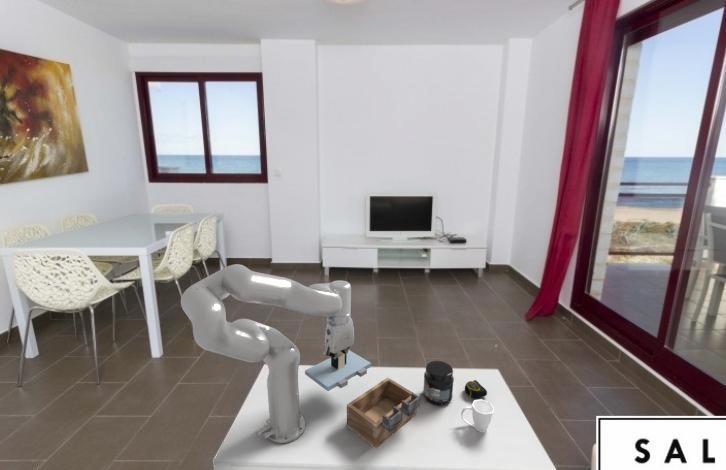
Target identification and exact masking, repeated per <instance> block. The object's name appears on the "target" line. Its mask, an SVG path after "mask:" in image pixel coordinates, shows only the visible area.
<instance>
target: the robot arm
mask: <svg viewBox="0 0 726 470" xmlns="http://www.w3.org/2000/svg"><path fill="white" fill-rule="evenodd" d="M229 296H231V297H232V298H233V299H236V301H237V300H238V301H240V302H242V303H249V304H250V303H252V304H256V305H257V304H259V305H267V306H274V307H280V308H284V309H287V310H290V311H294V312H297V313H302V314H307V315H311V316H315V317H324V318H326V327H325V332H324V333H325V334H324V350H323V352H322V354H323V355H324V356H326V357H330V358H331V366H333V367H334V368H336V369H338V365H339V359H338V358H337V355H338V352H339V351H341V352H342V353H344V354H345V365H346V358H347V353H348V350H350V348H351V347H352V346H353V345H354V344H355V329H354V322H353V321H354V320H353V318H352V317H351V315H352V314H351V308H352V307H351V306H352V305H351V304H352V286H351V283H350V282H348V281H346V280H333V281H331V282H327V283H326V282H325V283H313V284H311V285H309V286H306V285H304V284H302V283H300V282H298V281H295V280H294V279H291V278H287V277H284V276H278V275H273V274H268V273H262V272H257V271H254V270H252V269H249V268H248V267H247V266H245V265H243V264H239V263H236V264H231V265H228V266H226V267H223V268H222V269H219V270H218V271H216V272H214V273H212V274H210V275H208V276H207V277H205V278H203V279H201V280H199V281H198V282H195V283H193V284H192V285H190V286H189V287H188V288H187V289H185V291H184V292H183V293H182V295H181V298H180V307H181V308H182V310H183V312H184V313H185V315H186V316H187V317H188V318H189V320H190V322H191V325H192V333H193V334H192V335H193V338H194V341H195V343H196V344H197V346H198V347H200V348H202V349H203V350H205V351H208V352H211V353H216V354H219V355H223V356H226V357H229V358H232V359H236V360H240V361H244V362H247V363H257V362H261V361H263V363H265V364H266V366H267V368H268V375H267V378H266V387H267V388H266V389H267V399H268V400H267V401H268V403H267V405H268V414H269V415H268V416H269V417H268V418H267V419H266V423H265V424H264V426H263V427H261V428H259V429H257V430H256V431H255V435H256V438H259V437H261V436H263V438H264V440H267V439H268V440H269V441H271V442H272V443H276V444H287V443H291V442H293V441H295V440H297V439H299V438H300V437H301V436H302V434H303V433H304V431H305V427H306V420H305V418H304V417H303V415H301V414H300V413H301V412H300V411H301V410H300V388H299V386H300V385H299V367H300V363H301V354H300V351H299V348H298V347H297V345H295V344H294V342H293V341H292V340H290V339H289V338H288V337H287V336H285V335H284V334H283V333H282V332H281V331H279V330H278V329H277V328H274V327H271V326H269V325H266V324H264V323H260V322H258V321H255V320H252V319H250V318H239V319H235V320H234V321H232V322H230V321H227V313H226V312H227V310H226V306H225V305H224V302H223V300H224V299H226V298H227V297H229ZM333 353H334V354H333Z"/></svg>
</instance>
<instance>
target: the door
mask: <svg viewBox="0 0 726 470" xmlns="http://www.w3.org/2000/svg"><path fill="white" fill-rule="evenodd" d="M333 354H334V353H333ZM337 358H338V359H339V365H338V369H336V368H334V367H333V366H331V357H329V358H327V359H325V360H323V361H322V362H319V363H317V364H315V365H312V366H311V367H309V368H307V369H305V370H304V375H306V376H307V377H308V378H310V380H312V381H313V382H315V383H316V384H317V385H319V386H320V387H321V388H323V389H324V390H325V391H326V392H329V391H331V390H333V389H335V388H336V387H338V388H339V389H343V388H344V387H346V386H348V383H349V380H350V379H352V378H353V377H356V376H358V377H359V378H361V377H364V376H365V375H366V374H368V373H367V372H368V369H369V368H371V367H372V363H371V362H370V361H368V360H367V359H366V358H363V357H361V356H360V355H359V354H357V353H355V352H353V351H352V350H350V349H348V353H347V358H346V365H345V354H344V353H342V352H341V351H339V352H338V355H337Z"/></svg>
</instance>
